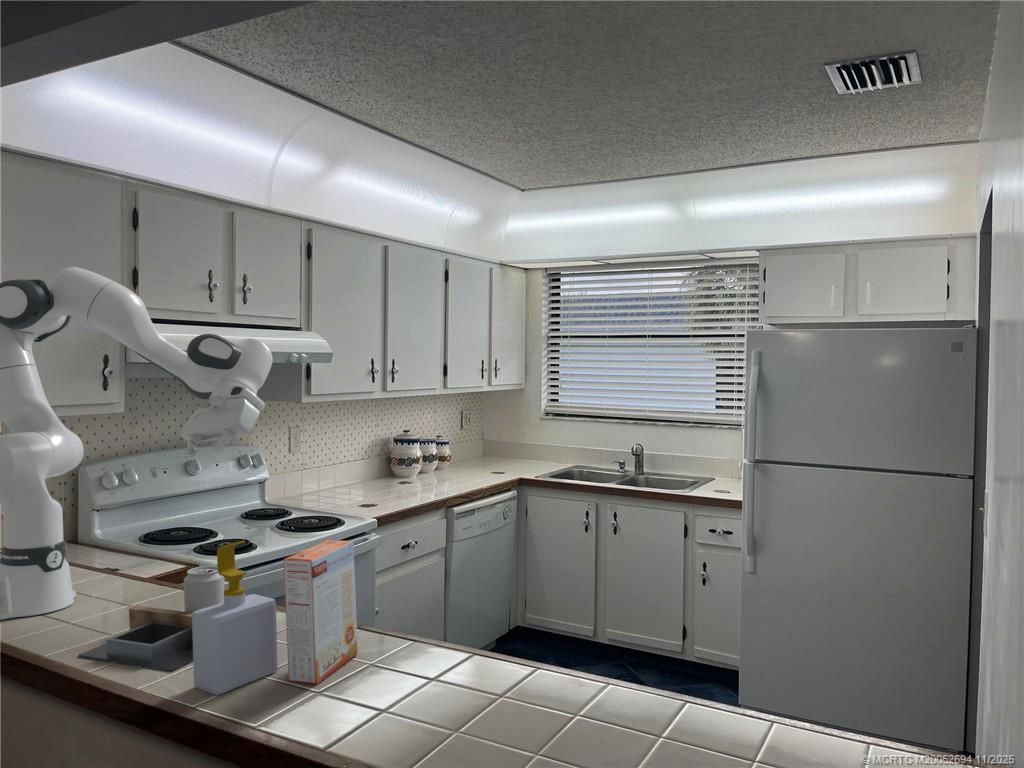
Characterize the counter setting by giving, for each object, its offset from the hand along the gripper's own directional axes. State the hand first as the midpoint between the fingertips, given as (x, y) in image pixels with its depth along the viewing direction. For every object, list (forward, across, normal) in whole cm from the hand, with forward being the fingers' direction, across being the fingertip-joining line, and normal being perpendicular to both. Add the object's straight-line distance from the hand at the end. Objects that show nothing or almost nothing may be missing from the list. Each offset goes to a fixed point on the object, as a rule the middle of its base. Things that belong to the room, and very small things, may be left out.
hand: (202, 453), depth 168 cm
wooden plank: (+36, +5, +12) cm, 38 cm away
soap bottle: (+44, +31, +9) cm, 54 cm away
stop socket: (+40, +6, +7) cm, 41 cm away
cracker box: (+38, +40, +18) cm, 58 cm away
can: (+32, +4, +17) cm, 36 cm away
